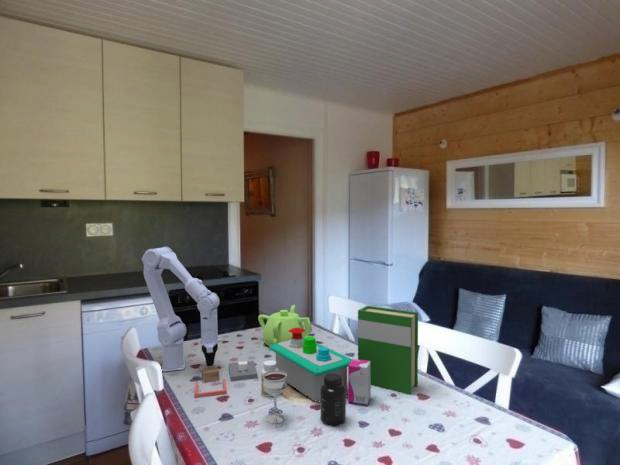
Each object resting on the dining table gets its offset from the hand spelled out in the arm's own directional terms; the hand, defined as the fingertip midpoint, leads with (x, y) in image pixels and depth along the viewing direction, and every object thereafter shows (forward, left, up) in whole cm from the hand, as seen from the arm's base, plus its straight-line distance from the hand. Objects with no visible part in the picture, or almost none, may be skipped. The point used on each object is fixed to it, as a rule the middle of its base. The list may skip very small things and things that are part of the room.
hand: (210, 365), depth 139 cm
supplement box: (+35, +43, -2) cm, 56 cm away
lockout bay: (+15, 0, -2) cm, 15 cm away
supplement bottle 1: (+23, +18, -2) cm, 30 cm away
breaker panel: (+5, +11, -2) cm, 12 cm away
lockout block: (+7, 0, -2) cm, 8 cm away
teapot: (-22, +32, -2) cm, 39 cm away
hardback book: (+27, +56, -2) cm, 62 cm away
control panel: (+20, +32, -2) cm, 38 cm away
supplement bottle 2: (+43, +32, -2) cm, 54 cm away
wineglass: (+38, +17, -2) cm, 42 cm away
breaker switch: (+7, +11, 0) cm, 13 cm away
